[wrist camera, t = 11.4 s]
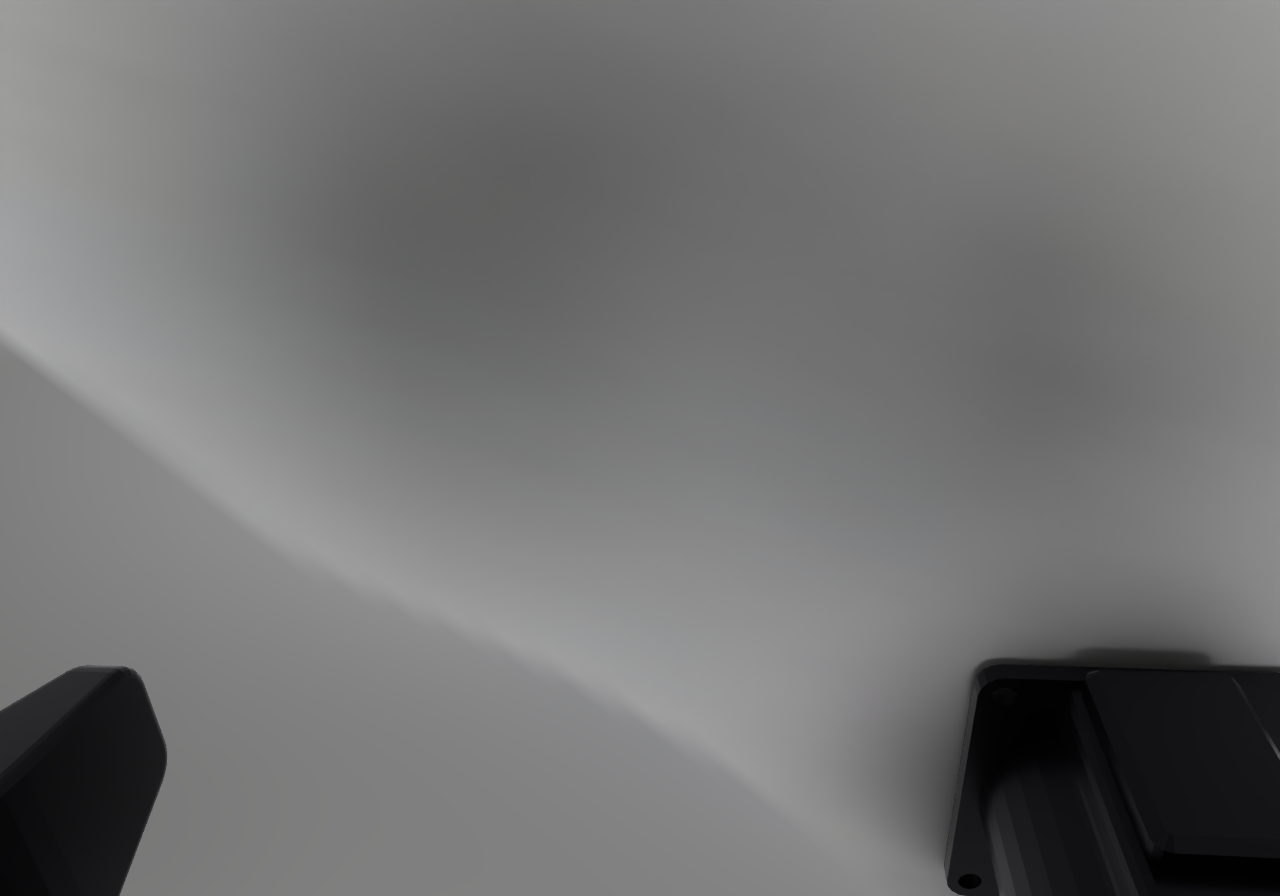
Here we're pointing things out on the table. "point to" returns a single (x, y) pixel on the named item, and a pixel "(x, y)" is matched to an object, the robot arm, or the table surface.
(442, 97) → the table surface
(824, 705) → the table surface
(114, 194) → the table surface
